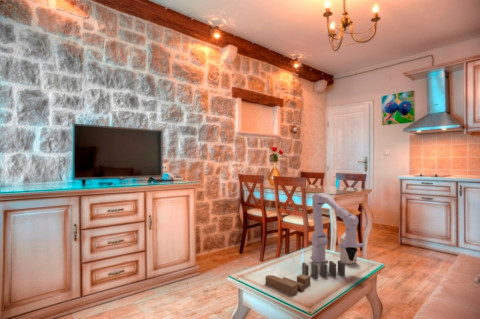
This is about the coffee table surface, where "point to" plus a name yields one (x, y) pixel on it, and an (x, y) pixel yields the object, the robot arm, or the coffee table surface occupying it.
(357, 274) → the coffee table surface
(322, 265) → the domino
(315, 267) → the domino
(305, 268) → the domino
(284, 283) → the wooden block set
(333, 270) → the domino
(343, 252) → the milk carton
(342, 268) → the domino
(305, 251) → the coffee table surface
